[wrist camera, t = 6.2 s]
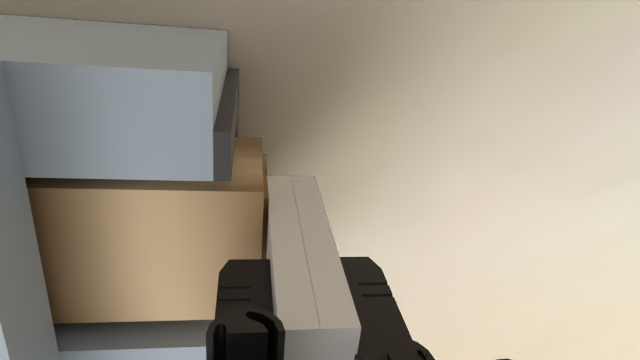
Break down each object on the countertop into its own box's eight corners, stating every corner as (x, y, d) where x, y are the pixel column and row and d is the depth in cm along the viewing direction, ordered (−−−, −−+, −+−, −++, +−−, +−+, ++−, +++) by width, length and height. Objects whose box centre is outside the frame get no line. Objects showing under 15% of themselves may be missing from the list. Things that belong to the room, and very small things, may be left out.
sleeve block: (-85, 273, 18) (-356, 521, 10) (-175, 1, 14) (-755, 50, 6) (236, 270, 20) (226, 476, 12) (239, 31, 16) (227, 98, 8)
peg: (-120, 242, 15) (-238, 331, 11) (-162, 122, 13) (-316, 181, 10) (261, 242, 17) (264, 318, 13) (265, 138, 15) (270, 192, 12)
